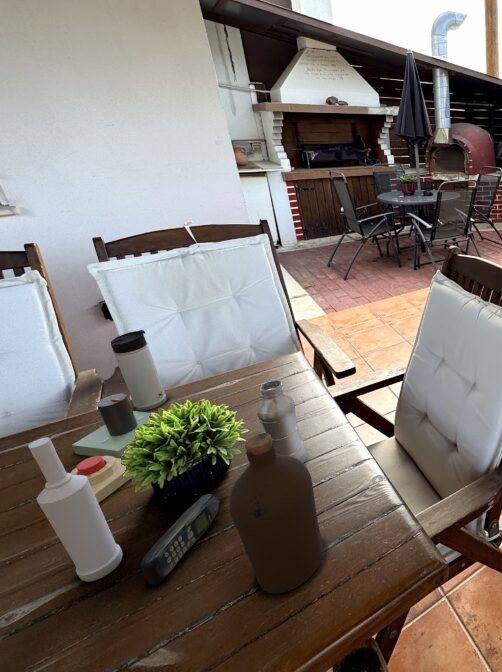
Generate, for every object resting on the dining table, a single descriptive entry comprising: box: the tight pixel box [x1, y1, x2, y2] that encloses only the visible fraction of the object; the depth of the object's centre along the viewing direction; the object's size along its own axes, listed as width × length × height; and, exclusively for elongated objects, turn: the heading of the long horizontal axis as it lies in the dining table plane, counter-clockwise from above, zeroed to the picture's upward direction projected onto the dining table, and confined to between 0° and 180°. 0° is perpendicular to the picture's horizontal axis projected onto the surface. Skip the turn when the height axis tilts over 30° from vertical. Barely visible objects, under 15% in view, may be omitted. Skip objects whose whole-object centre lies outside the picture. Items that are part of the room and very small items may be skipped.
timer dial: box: [96, 393, 138, 436], centre depth 90 cm, size 5×5×8 cm
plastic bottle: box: [256, 379, 307, 464], centre depth 81 cm, size 6×7×20 cm
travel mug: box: [110, 329, 168, 412], centre depth 101 cm, size 6×7×20 cm
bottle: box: [28, 437, 123, 582], centre depth 60 cm, size 5×5×25 cm
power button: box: [75, 456, 105, 476], centre depth 78 cm, size 4×4×2 cm
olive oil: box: [228, 432, 324, 595], centre depth 60 cm, size 11×11×25 cm
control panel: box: [71, 410, 152, 459], centre depth 92 cm, size 12×12×3 cm
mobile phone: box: [140, 493, 221, 585], centre depth 68 cm, size 5×3×15 cm
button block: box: [70, 456, 133, 504], centre depth 79 cm, size 10×9×4 cm
